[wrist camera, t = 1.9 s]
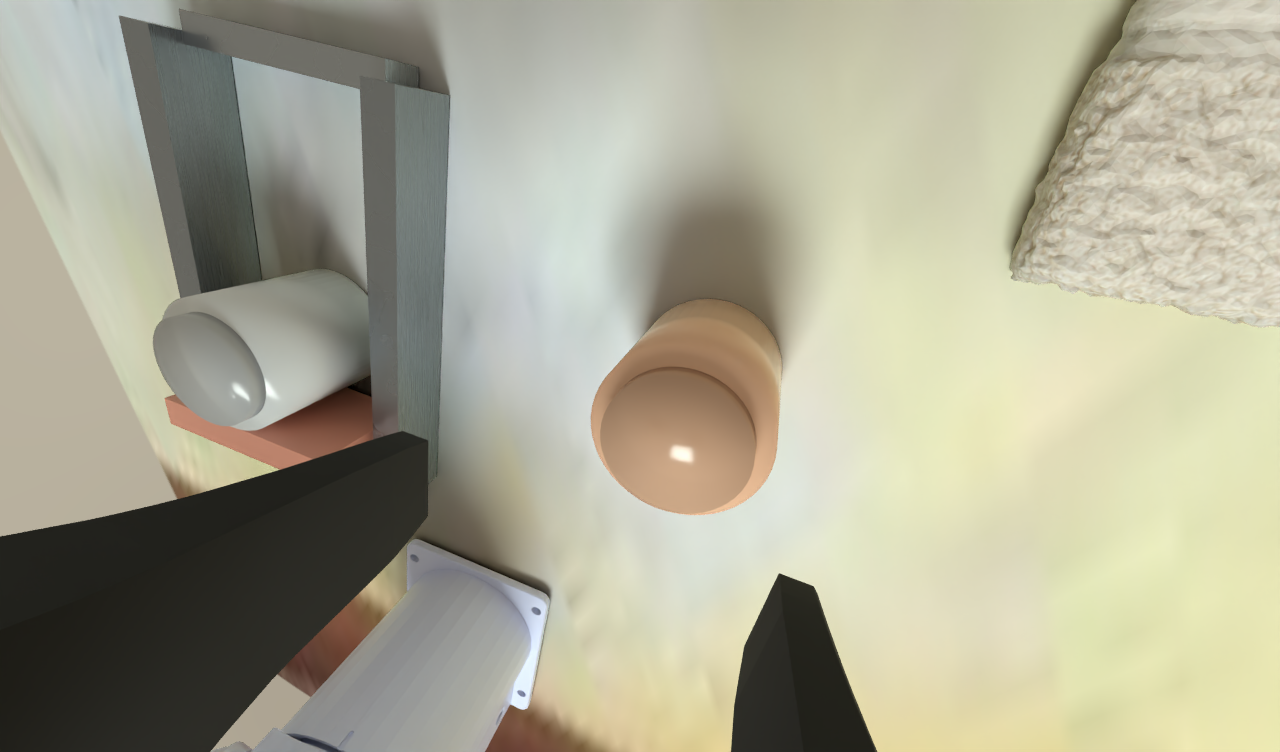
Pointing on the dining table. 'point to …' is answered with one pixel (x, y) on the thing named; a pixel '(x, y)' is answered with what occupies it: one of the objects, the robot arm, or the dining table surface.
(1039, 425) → the dining table surface
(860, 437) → the dining table surface
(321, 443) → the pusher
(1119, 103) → the washcloth
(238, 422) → the grey jar
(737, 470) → the terracotta jar
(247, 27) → the grey tray
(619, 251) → the dining table surface
